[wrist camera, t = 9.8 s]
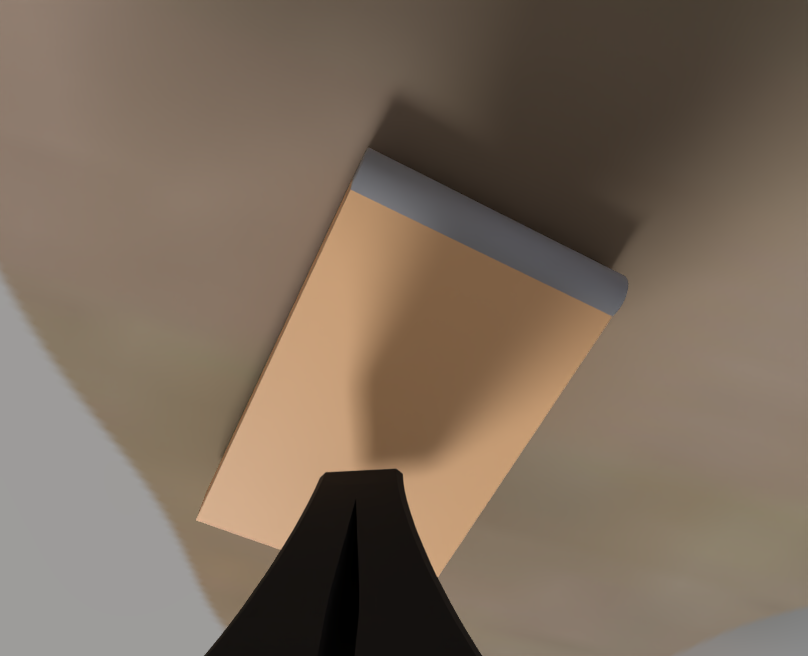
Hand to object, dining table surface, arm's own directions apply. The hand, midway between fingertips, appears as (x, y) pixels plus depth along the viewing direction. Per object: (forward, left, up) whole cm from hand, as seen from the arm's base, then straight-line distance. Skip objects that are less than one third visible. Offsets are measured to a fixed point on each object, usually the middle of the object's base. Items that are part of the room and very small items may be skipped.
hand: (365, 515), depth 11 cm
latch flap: (0, -1, -2) cm, 3 cm away
